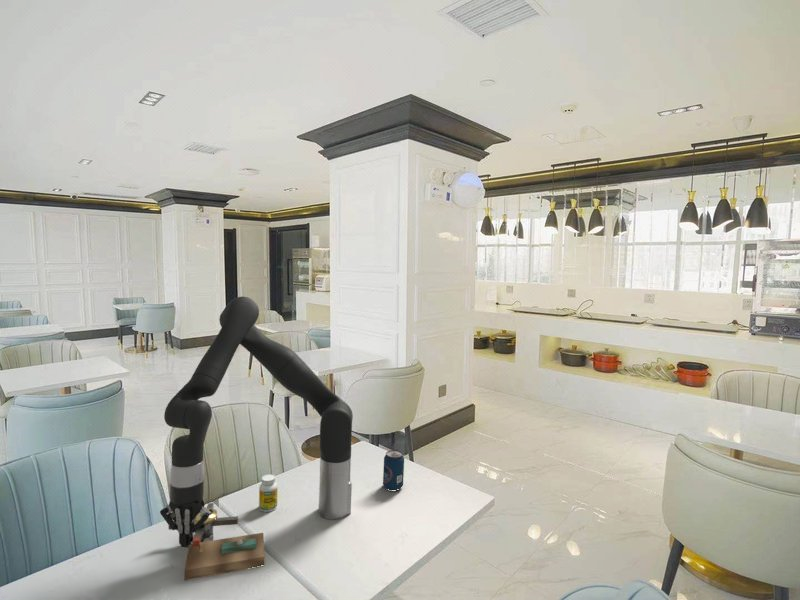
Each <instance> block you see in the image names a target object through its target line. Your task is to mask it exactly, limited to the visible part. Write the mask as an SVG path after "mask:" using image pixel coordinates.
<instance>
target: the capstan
mask: <svg viewBox="0 0 800 600" xmlns="http://www.w3.org/2000/svg"><path fill="white" fill-rule="evenodd" d="M214 505H215V502H210V503H207V505H206V508H207V509H208V510H209V509H212V510H213V513H212V514H211V515H210V516H209V517H208V519H207V520H206V521H205V522H204V523H203V524H202V525H201V526H200V528H199V529H198V530H197V531H196V532H194V534H193V541H192V544H193V547H196V546H199V545H200V543H201V542H206V541H212V540H214V527H218V526H219V527H221V526H232V525H238V523H239V516H237V515H236V516H226V517H225V516H224V517H218V511H217V509H215V508H214V507H215V506H214ZM200 514H201V511H200V512H199V514H198V515H197V516H196V520H195V524H196V523H197V522H198V521H199V520H200V519H201V518H200ZM173 522H174V521H173ZM174 523H175V522H174ZM168 530H172V529H171V528H170V526H169V525H168Z"/></svg>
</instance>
